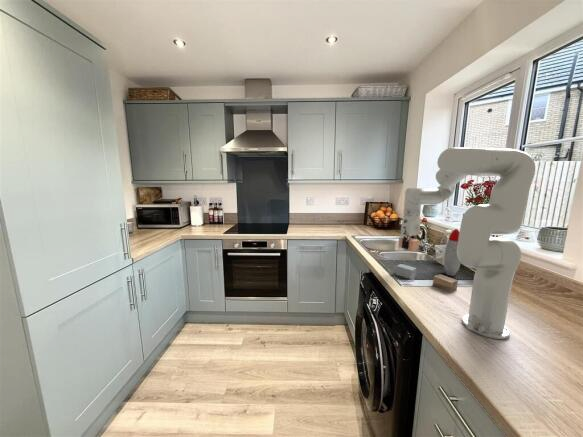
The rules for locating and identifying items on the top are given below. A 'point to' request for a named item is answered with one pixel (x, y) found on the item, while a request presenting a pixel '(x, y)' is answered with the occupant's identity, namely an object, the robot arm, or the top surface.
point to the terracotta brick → (410, 244)
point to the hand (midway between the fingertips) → (408, 247)
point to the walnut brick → (445, 283)
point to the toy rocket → (452, 254)
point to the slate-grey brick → (406, 271)
